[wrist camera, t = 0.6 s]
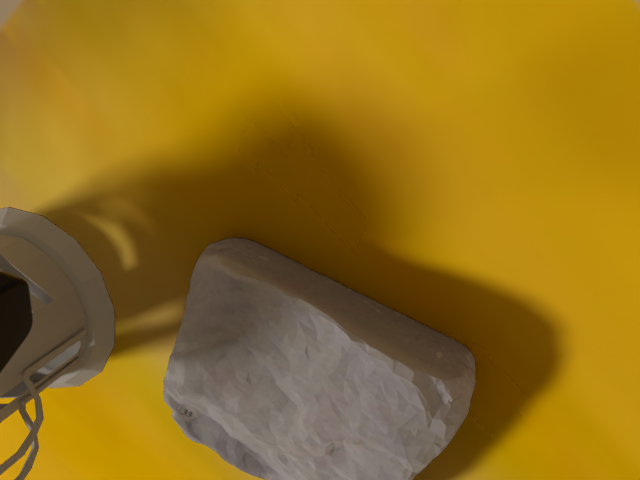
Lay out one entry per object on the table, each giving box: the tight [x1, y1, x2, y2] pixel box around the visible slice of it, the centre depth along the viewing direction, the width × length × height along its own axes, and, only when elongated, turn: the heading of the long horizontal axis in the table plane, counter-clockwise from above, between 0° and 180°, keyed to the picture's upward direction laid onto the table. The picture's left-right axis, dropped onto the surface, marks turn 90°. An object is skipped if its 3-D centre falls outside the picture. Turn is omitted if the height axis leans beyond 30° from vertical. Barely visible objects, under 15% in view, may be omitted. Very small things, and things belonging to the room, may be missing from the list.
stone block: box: [163, 238, 476, 480], centre depth 25 cm, size 12×5×10 cm
